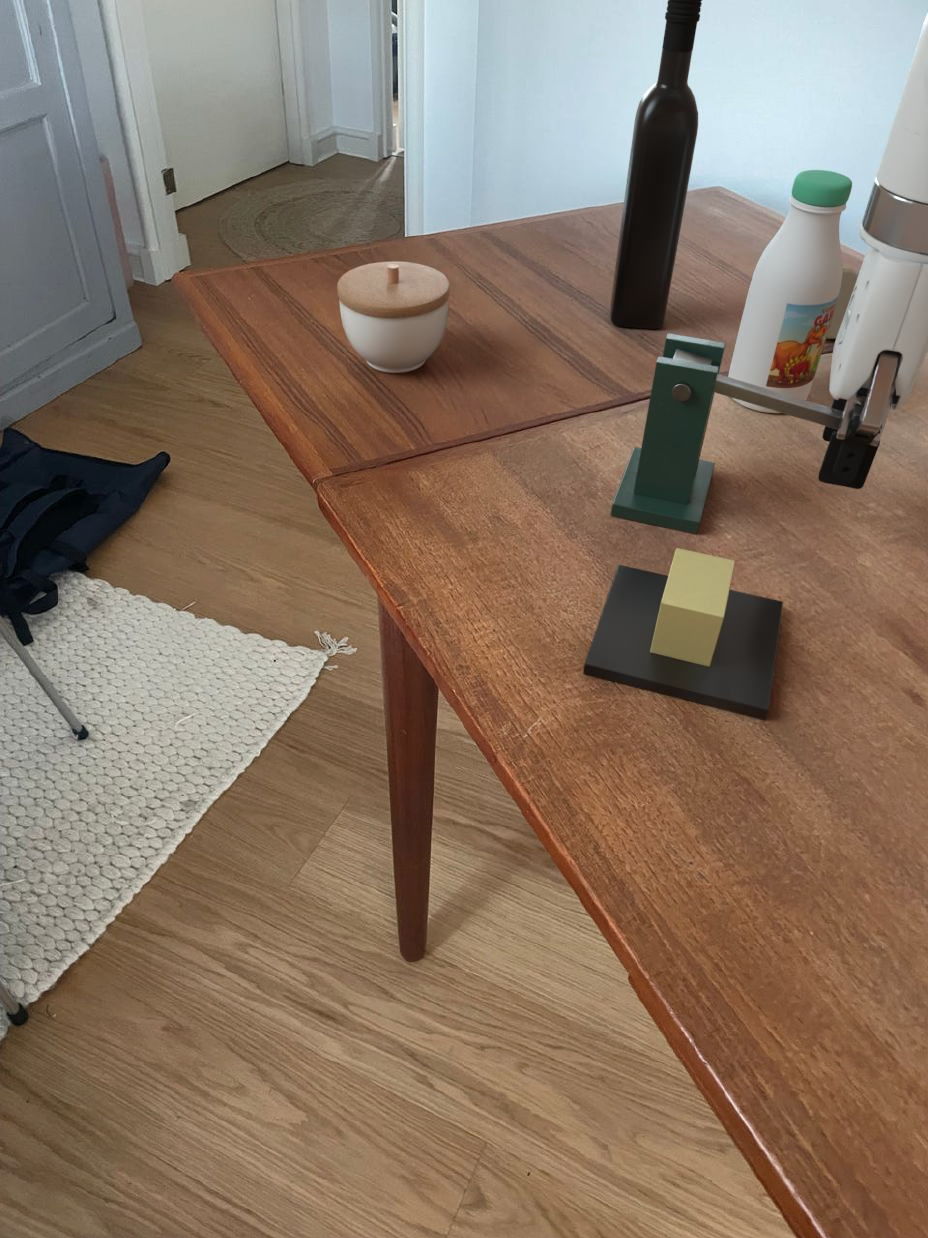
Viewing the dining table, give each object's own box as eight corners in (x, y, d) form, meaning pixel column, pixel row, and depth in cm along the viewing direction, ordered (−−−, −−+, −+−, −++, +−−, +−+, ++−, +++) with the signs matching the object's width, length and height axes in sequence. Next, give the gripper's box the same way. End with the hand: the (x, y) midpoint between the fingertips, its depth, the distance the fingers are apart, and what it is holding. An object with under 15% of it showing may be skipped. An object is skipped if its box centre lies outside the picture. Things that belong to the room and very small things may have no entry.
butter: (721, 609, 66) (735, 560, 63) (709, 667, 62) (724, 617, 59) (665, 596, 67) (676, 547, 64) (649, 652, 63) (661, 602, 60)
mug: (843, 304, 106) (894, 245, 97) (828, 374, 103) (879, 320, 93) (782, 282, 106) (827, 220, 96) (765, 350, 103) (810, 294, 93)
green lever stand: (712, 474, 80) (746, 333, 71) (697, 534, 74) (732, 389, 65) (632, 458, 82) (655, 318, 73) (610, 516, 75) (633, 371, 67)
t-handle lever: (861, 425, 71) (876, 398, 69) (860, 460, 68) (875, 432, 66) (670, 367, 73) (679, 340, 71) (659, 398, 70) (668, 369, 68)
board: (779, 611, 67) (783, 601, 67) (765, 720, 60) (769, 710, 59) (616, 574, 70) (618, 563, 69) (582, 674, 62) (584, 663, 62)
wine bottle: (660, 308, 104) (716, -14, 83) (663, 331, 100) (722, -2, 79) (609, 304, 104) (652, -17, 84) (610, 327, 100) (655, -5, 80)
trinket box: (349, 389, 89) (342, 293, 83) (336, 337, 97) (329, 247, 91) (458, 379, 91) (460, 285, 85) (438, 330, 99) (438, 240, 92)
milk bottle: (726, 410, 88) (780, 188, 74) (723, 371, 93) (773, 158, 80) (810, 419, 87) (880, 196, 73) (802, 379, 93) (866, 165, 79)
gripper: (868, 167, 65) (798, 399, 78) (862, 260, 53) (780, 515, 66) (983, 182, 63) (892, 416, 76) (1003, 280, 52) (892, 539, 64)
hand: (841, 460), depth 71 cm, fingers closed on t-handle lever, 5 cm apart
